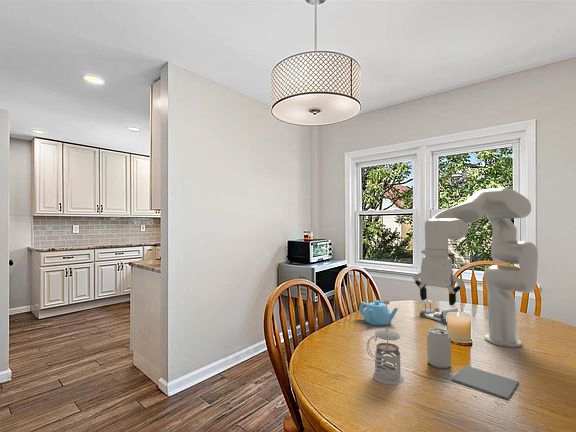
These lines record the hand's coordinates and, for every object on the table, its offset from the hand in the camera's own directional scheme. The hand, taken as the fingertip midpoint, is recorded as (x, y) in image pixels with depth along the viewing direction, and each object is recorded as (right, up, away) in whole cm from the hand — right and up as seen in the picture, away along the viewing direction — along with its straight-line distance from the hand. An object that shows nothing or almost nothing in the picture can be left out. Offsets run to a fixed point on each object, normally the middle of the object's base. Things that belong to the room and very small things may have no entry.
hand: (437, 302), depth 109 cm
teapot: (-8, -24, +47) cm, 53 cm away
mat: (+9, -22, -12) cm, 26 cm away
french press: (-21, -22, -8) cm, 32 cm away
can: (0, -22, 0) cm, 22 cm away
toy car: (+25, -24, +52) cm, 62 cm away
